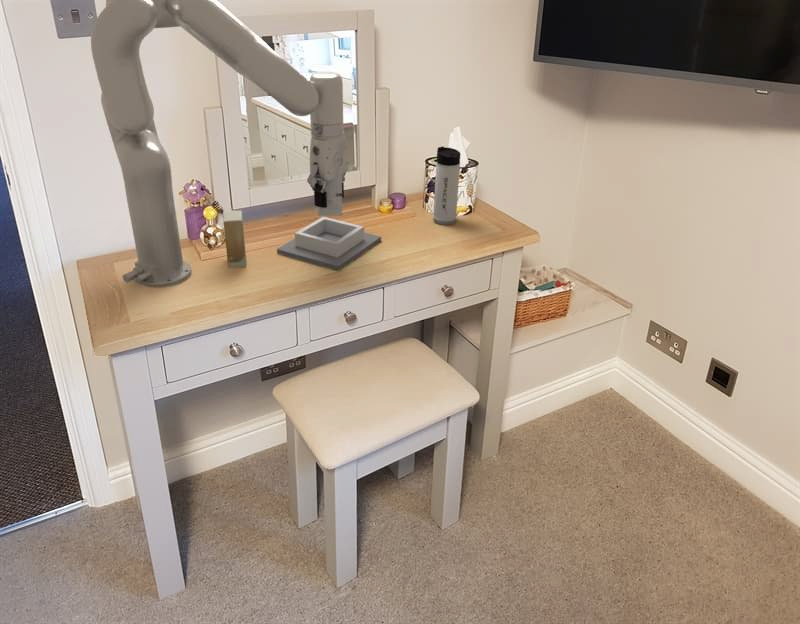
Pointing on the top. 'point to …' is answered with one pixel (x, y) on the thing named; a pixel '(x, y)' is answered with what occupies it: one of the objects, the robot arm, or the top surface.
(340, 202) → the skincare box
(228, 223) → the skincare box
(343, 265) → the duct collar
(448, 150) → the travel mug
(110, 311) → the top surface
